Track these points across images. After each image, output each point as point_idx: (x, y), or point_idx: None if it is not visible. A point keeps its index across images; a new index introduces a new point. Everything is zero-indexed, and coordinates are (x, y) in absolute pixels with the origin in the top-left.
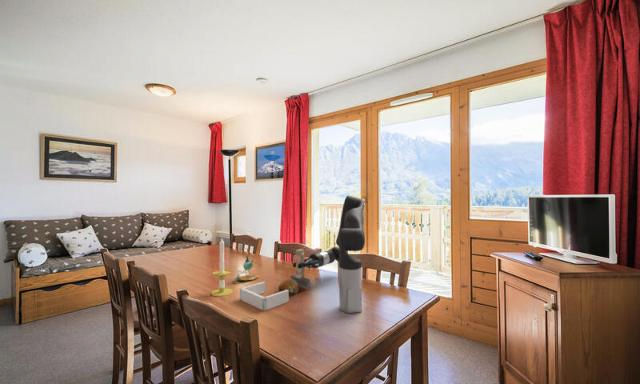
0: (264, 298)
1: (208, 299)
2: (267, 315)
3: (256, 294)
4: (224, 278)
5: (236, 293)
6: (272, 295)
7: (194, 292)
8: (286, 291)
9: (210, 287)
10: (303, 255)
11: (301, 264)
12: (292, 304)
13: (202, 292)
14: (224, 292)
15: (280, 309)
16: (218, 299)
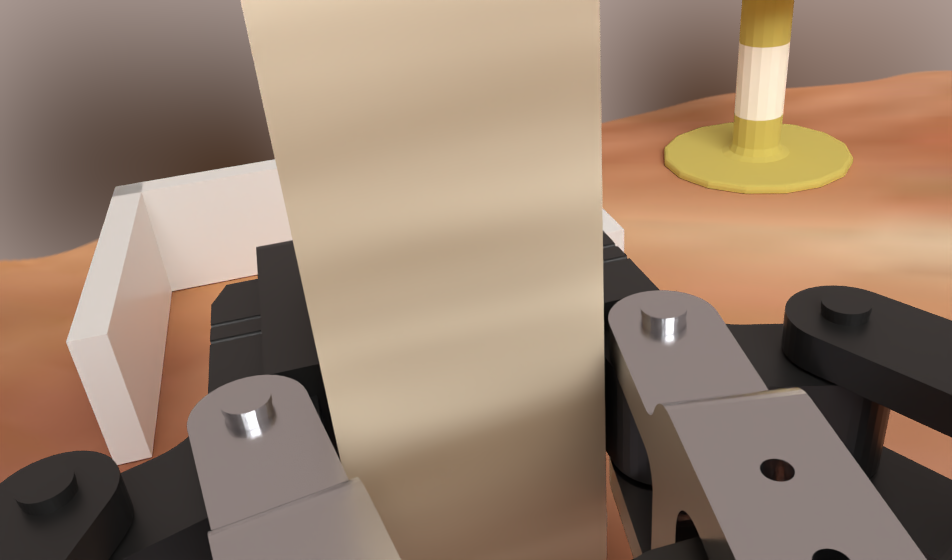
0: (116, 188)
1: (633, 123)
2: (55, 288)
3: (261, 167)
4: (760, 38)
5: (690, 207)
6: (110, 226)
7: (821, 87)
8: (73, 325)
9: (930, 122)
10: (253, 35)
11: (257, 324)
12: (9, 474)
13: (806, 105)
14: (731, 158)
15: (41, 366)
16: (602, 148)
